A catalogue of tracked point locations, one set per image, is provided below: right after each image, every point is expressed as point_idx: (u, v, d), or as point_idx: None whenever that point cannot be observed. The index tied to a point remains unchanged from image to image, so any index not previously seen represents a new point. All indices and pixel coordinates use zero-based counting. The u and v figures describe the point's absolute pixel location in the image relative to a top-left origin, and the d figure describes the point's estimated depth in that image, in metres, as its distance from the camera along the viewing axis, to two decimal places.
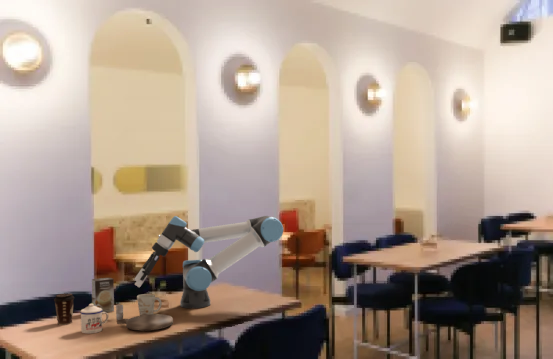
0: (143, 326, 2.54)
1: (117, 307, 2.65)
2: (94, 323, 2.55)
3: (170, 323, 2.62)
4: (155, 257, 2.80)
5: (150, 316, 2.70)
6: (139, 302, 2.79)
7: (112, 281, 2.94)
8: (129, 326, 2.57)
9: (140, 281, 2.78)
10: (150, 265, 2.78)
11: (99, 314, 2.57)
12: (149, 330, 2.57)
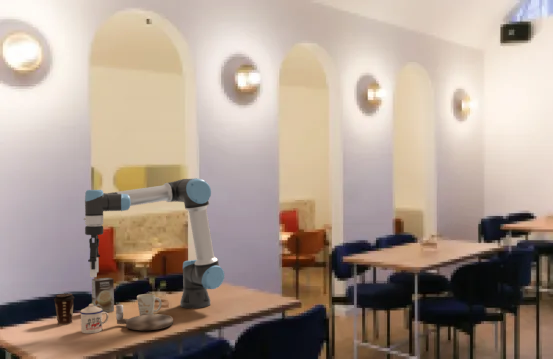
0: (143, 326, 2.54)
1: (117, 307, 2.65)
2: (94, 323, 2.55)
3: (170, 323, 2.62)
4: (92, 240, 2.53)
5: (150, 316, 2.70)
6: (139, 302, 2.79)
7: (112, 281, 2.94)
8: (129, 326, 2.57)
9: (93, 270, 2.53)
10: (92, 250, 2.52)
11: (99, 314, 2.57)
12: (149, 330, 2.57)
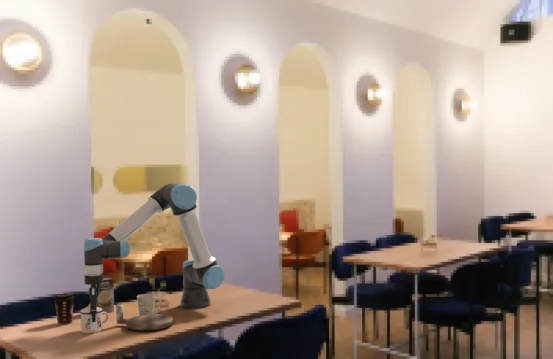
0: (143, 326, 2.54)
1: (117, 307, 2.65)
2: None
3: (170, 323, 2.62)
4: (92, 292, 2.53)
5: (150, 316, 2.70)
6: (139, 302, 2.79)
7: (112, 281, 2.94)
8: (129, 326, 2.57)
9: (94, 323, 2.54)
10: (92, 302, 2.52)
11: (99, 314, 2.57)
12: (149, 330, 2.57)
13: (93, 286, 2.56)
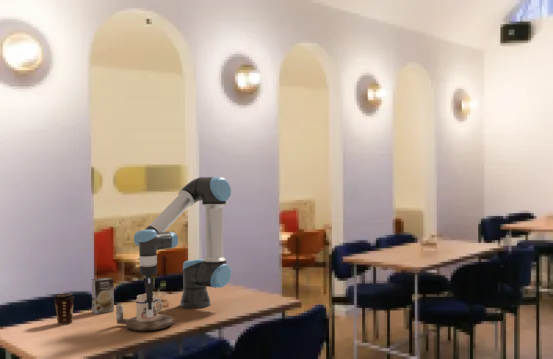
0: (143, 326, 2.54)
1: (117, 307, 2.65)
2: None
3: (170, 323, 2.62)
4: (148, 281, 2.57)
5: None
6: None
7: (112, 281, 2.94)
8: (129, 326, 2.57)
9: (150, 311, 2.57)
10: (148, 290, 2.56)
11: (154, 303, 2.62)
12: (149, 330, 2.57)
13: (148, 277, 2.60)
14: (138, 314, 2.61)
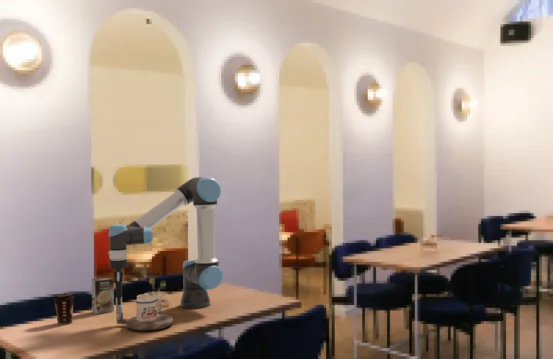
0: (143, 326, 2.54)
1: (117, 307, 2.65)
2: (149, 312, 2.60)
3: (170, 323, 2.62)
4: (117, 280, 2.64)
5: None
6: None
7: (112, 281, 2.94)
8: (129, 326, 2.57)
9: None
10: (117, 288, 2.65)
11: (154, 303, 2.62)
12: (149, 330, 2.57)
13: (118, 270, 2.66)
14: (138, 314, 2.61)
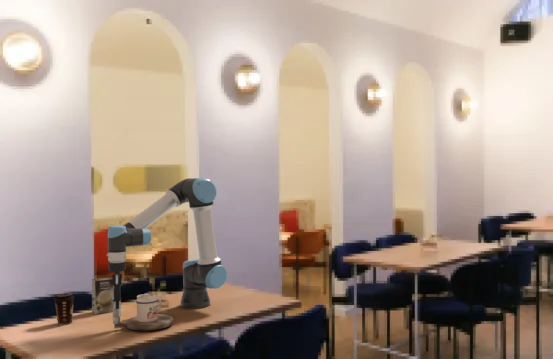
0: (156, 325, 2.55)
1: (115, 311, 2.58)
2: (154, 311, 2.61)
3: None
4: (115, 283, 2.55)
5: None
6: None
7: (112, 281, 2.94)
8: (138, 327, 2.55)
9: None
10: (116, 291, 2.57)
11: (156, 302, 2.64)
12: (149, 330, 2.57)
13: (117, 273, 2.58)
14: (143, 315, 2.59)
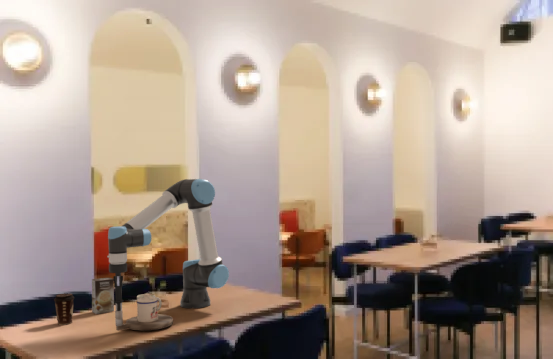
0: (163, 323, 2.57)
1: (119, 313, 2.54)
2: (156, 311, 2.62)
3: None
4: (117, 284, 2.52)
5: None
6: None
7: (112, 281, 2.94)
8: (145, 327, 2.54)
9: None
10: (117, 293, 2.53)
11: None
12: (149, 330, 2.57)
13: (118, 274, 2.54)
14: (146, 315, 2.59)
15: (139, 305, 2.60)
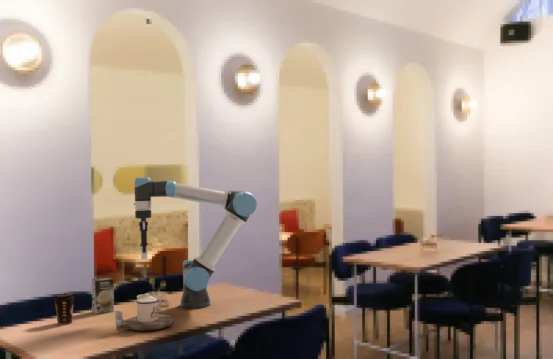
0: (163, 323, 2.57)
1: (119, 313, 2.54)
2: (156, 311, 2.62)
3: None
4: (143, 228, 2.81)
5: None
6: None
7: (112, 281, 2.94)
8: (145, 327, 2.54)
9: (144, 253, 2.86)
10: (143, 236, 2.82)
11: None
12: (149, 330, 2.57)
13: (143, 219, 2.83)
14: (146, 315, 2.59)
15: (139, 305, 2.60)
